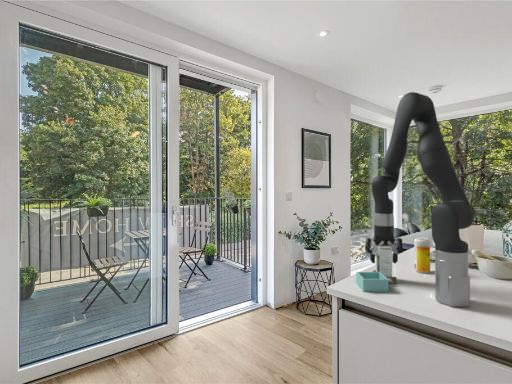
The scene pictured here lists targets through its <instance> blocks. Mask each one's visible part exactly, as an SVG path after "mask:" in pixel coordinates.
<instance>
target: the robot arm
mask: <svg viewBox="0 0 512 384" xmlns="http://www.w3.org/2000/svg"><path fill="white" fill-rule="evenodd" d="M395 113H396V114H395V118H394V123H393V127H392V132H391V137H390V140H389V145H388V147H387V150H386V153H385V155H384V158H383V161H382V164H381V167H382V168H383V174H382V175H377V176H375V177H374V178H373V179H372V181H371V194H372V196H373V197H372V199H373V202H374V217H373V233H374V235H373V237H372V238H371V237H366V239H365V252H366V253H369V259H370V262H371V263H372V264H376V253H377V246H382V245H388V246H391V247H392V264H397V262H398V260H399V257H398V256H399V254H402V253H403V252H404V248H403V245H404V244H403V239H402V238H400V237H395V217H394V216H395V215H394V201H393V200H392V199H391V198H390V197H389V193H392V192H393V191H395V190H396V187H397V186H398V183H399V178H400V174H401V173H400V172H401V168H402V166H403V163H404V160H405V157H407V153H408V133H409V128H410V126H411V123H412V121H413V123H414V125H415V127H416V130H417V132H418V133H417V134H418V143H417V148H416V151H417V152H416V153H417V158H418V161H419V164H420V167H421V170H422V172H423V174H424V175H425V176H426V178H427V179H429V181H430V182H431V183H432V184H433V185H434V186H435V188H437V190H438V192H439V194H440V195H441V198H442V202H440V203H437V204H435V205H434V207H433V208H432V211H431V215H430V224H431V225H430V226H431V238H432V241H433V243H434V280H435V281H434V288H435V290H434V294H435V296H434V297H435V300H436V301H437V302H439V303H440V304H443V305H446V306H448V307H452V308H453V307H455V308H456V307H458V308H459V307H462V308H463V307H464V308H465V307H466V308H469V307H471V278H470V277H469V244H468V242H467V241H465V240H462V239H461V238H460V237H461V236H460V230H464V229H468V228H469V227H471V225H472V224H473V222H474V219H475V217H474V215H475V214H474V211H473V209H472V205H471V204H470V202H469V200H468V198H467V196H466V194H465V192H464V190H463V187H462V186H461V183H460V180H459V178H458V175H457V173H456V170H455V167H454V165H453V161H452V158H451V156H450V153H449V150H448V147H447V145H446V142H445V139H444V137H443V133H442V131H441V128H440V125H439V121H438V118H437V114H436V113H437V112H436V108H435V104H434V102H433V100H432V98H430V97H429V96H428V95H425V94H422V93H420V92H415V91H412V92H411V91H409V92H407V93H405V94H404V95H403V96H402V97H401V99H400V100H399V103H398V104H397V108H396V112H395ZM372 243H374V245H372V246H371V244H372ZM394 243H396V247H397V248H396V247H395V246H394V245H393V244H394ZM371 247H372V248H371Z"/></svg>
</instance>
